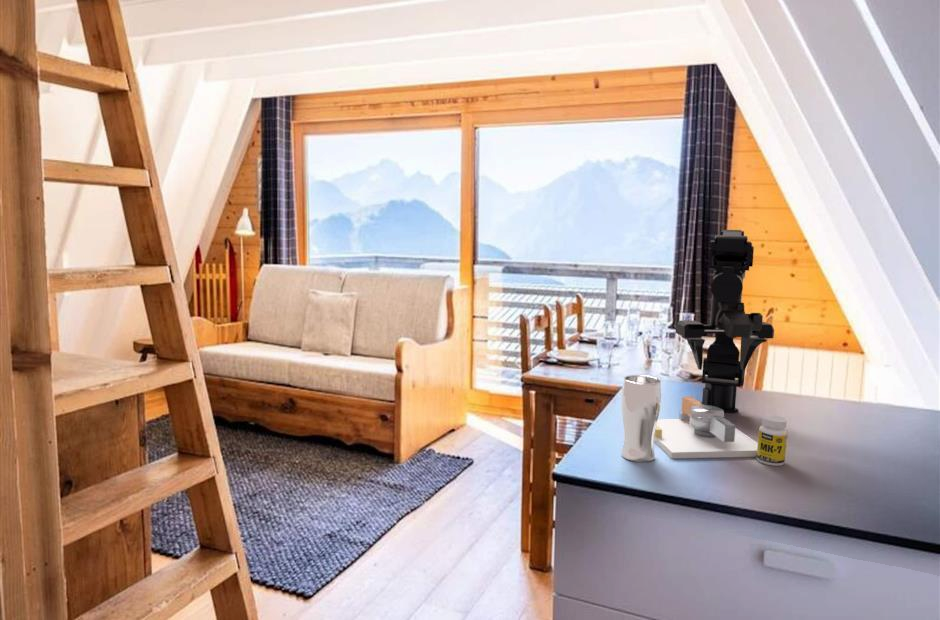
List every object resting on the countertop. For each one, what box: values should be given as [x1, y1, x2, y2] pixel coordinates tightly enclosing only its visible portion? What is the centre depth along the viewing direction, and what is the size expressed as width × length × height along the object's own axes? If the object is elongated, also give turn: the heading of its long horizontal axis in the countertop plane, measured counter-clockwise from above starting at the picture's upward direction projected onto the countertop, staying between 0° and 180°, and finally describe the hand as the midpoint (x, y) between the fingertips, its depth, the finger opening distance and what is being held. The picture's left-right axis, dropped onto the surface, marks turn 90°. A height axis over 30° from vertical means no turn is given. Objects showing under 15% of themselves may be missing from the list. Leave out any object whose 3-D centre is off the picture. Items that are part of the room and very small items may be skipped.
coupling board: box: [653, 411, 758, 460], centre depth 130 cm, size 19×19×3 cm
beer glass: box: [621, 374, 662, 463], centre depth 120 cm, size 7×7×15 cm
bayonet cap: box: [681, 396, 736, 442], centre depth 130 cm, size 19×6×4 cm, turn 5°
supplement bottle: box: [756, 414, 788, 467], centre depth 118 cm, size 5×5×8 cm
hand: (721, 369), depth 135 cm, fingers open, 9 cm apart
